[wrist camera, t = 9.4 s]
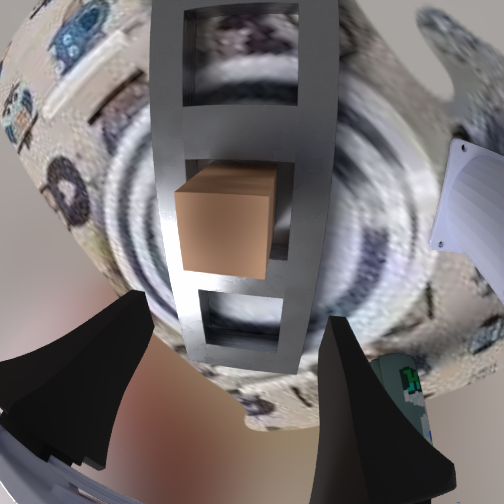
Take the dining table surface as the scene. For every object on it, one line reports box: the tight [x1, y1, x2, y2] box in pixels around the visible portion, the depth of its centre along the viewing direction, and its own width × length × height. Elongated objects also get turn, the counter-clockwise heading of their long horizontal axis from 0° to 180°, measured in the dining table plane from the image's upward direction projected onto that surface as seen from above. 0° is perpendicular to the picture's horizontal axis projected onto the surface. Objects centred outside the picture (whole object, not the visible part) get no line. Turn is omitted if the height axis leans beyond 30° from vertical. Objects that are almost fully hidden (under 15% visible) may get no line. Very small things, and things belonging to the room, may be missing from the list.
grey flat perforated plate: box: [149, 0, 339, 375], centre depth 16 cm, size 10×30×2 cm, turn 0°
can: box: [370, 353, 433, 446], centre depth 18 cm, size 6×6×15 cm
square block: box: [174, 162, 278, 279], centre depth 14 cm, size 4×4×6 cm
